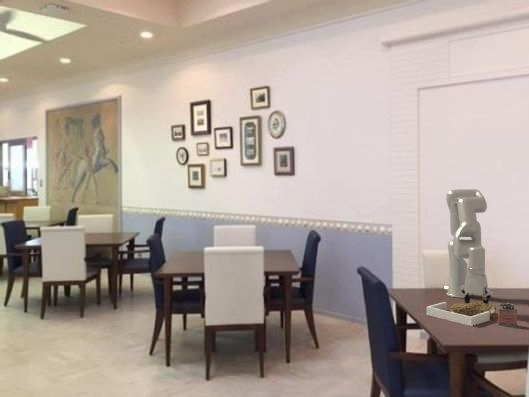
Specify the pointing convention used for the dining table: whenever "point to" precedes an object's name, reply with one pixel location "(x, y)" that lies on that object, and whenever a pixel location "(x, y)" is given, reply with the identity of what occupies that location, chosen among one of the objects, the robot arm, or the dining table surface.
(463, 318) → the box
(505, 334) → the dining table surface
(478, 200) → the robot arm
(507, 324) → the lighter
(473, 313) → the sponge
